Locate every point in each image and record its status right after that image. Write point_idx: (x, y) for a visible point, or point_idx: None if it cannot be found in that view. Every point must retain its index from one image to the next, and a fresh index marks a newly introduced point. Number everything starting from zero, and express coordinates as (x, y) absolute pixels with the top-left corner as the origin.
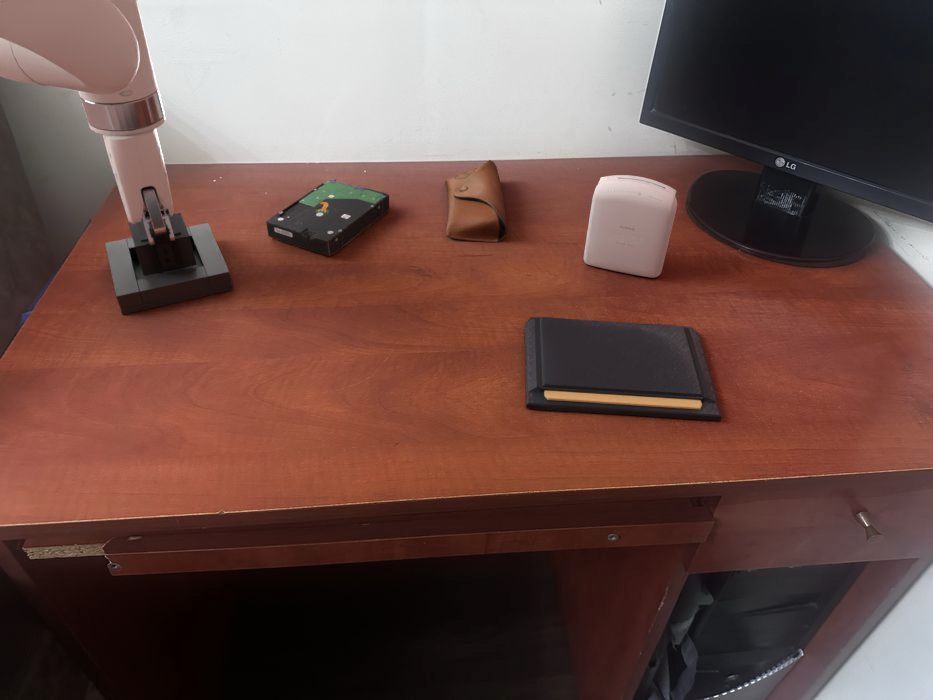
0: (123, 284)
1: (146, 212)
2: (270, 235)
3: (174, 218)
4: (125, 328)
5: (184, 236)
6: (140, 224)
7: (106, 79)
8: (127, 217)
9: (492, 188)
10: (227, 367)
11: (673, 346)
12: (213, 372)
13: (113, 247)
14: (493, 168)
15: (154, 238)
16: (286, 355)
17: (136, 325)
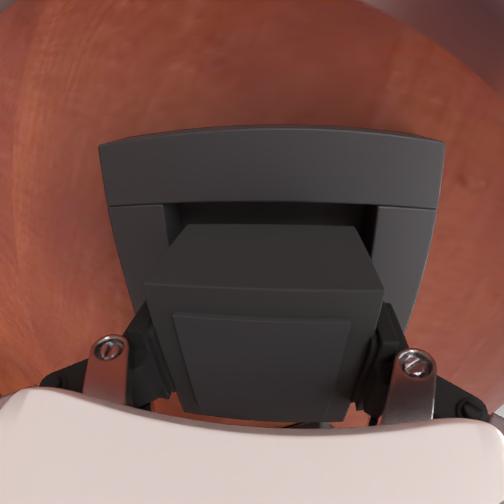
0: (148, 165)
1: (375, 377)
2: (314, 422)
3: (304, 414)
4: (87, 145)
5: (182, 405)
6: (319, 336)
7: None
8: (49, 403)
9: None
10: (14, 281)
11: None
12: (7, 265)
13: (406, 161)
14: None
15: (45, 377)
16: (38, 338)
17: (91, 167)
